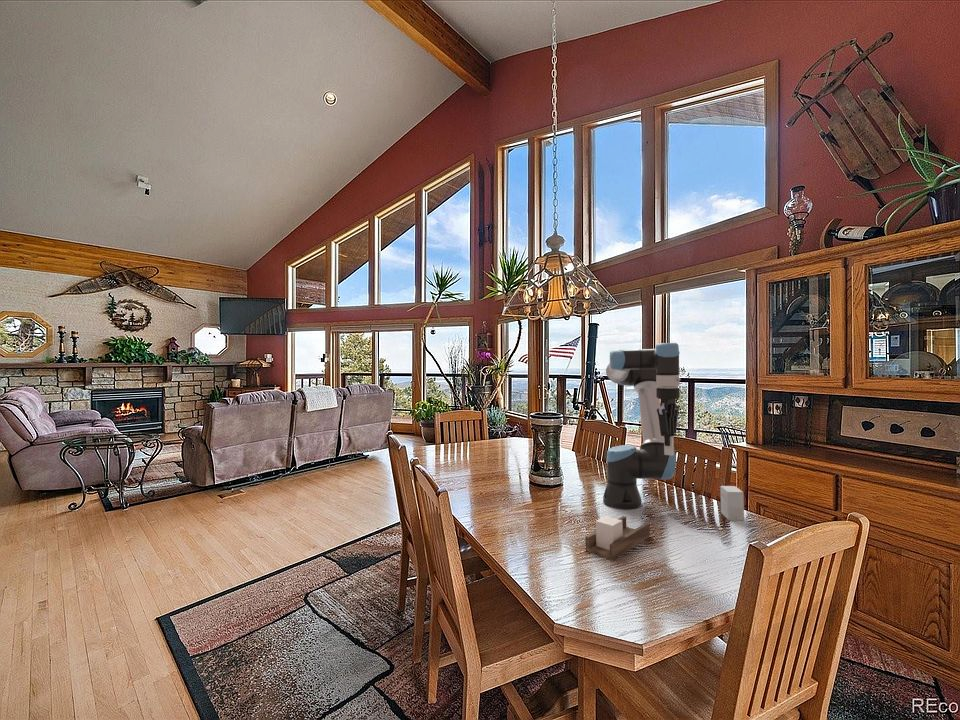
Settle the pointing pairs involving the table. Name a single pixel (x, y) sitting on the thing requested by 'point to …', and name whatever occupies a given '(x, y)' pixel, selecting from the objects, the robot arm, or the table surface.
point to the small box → (732, 502)
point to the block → (608, 531)
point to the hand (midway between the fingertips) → (669, 454)
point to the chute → (619, 541)
